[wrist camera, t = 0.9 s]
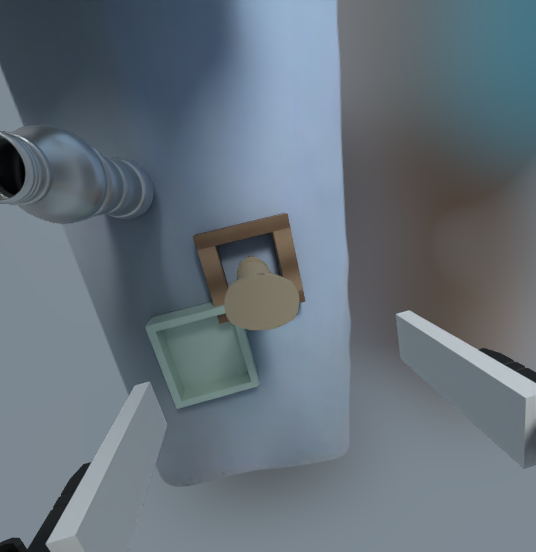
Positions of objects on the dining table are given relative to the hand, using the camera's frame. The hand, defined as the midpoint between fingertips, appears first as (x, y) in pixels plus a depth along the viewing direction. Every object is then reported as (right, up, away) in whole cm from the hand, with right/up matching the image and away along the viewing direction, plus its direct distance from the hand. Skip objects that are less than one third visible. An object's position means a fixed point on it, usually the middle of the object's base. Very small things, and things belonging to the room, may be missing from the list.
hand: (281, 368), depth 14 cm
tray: (-9, -5, +26) cm, 28 cm away
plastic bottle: (-18, +15, +19) cm, 30 cm away
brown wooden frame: (-3, +6, +23) cm, 24 cm away
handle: (-3, +6, +24) cm, 25 cm away
